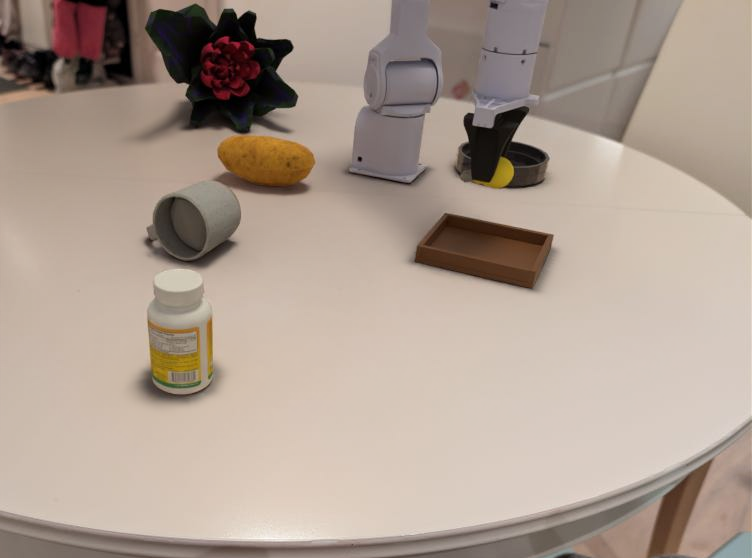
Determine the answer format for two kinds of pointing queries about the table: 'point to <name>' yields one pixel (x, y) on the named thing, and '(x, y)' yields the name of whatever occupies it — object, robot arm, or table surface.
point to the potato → (266, 159)
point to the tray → (485, 249)
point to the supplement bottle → (180, 332)
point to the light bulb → (499, 178)
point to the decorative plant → (222, 63)
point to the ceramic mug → (195, 219)
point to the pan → (513, 163)
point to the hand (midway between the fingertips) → (485, 175)
